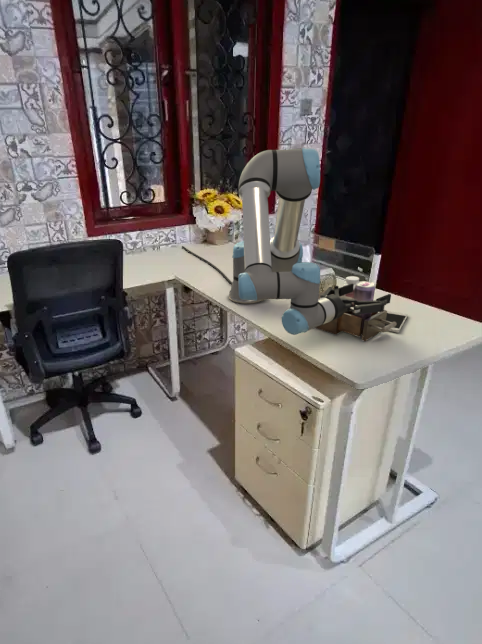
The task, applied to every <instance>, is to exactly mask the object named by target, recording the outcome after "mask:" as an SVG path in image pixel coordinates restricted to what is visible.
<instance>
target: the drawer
mask: <svg viewBox="0 0 482 644" xmlns="http://www.w3.org/2000/svg"><path fill="white" fill-rule="evenodd" d="M352 307H353V306H352ZM387 311H388V310H386V309H384V311H383V312H374V313H371V317H370V318H368V319H366V320H364V328H363V331H361V329H362V321H363V318H360V317H357V316H354V315H352V311H349V312H345V313H344V314H343V315H342V316H341V317H340V318H339V322H338V330H340V331H342V333H346V334H349V335H352V336H355V337H358V338H361V341H363V342H366V341H369V340H370V339H371V338H373V337H375V336H377V335H378V334H380V333H386V332H387V330H389V329H391V328H392V327H394V326H396V325H397V323H396V322H389V321H386V316H387ZM385 323H388V324H389V325H387V326H385Z"/></svg>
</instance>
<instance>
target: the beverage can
mask: <svg viewBox="0 0 482 644" xmlns="http://www.w3.org/2000/svg"><path fill="white" fill-rule="evenodd" d="M375 290H376V284H375V282H371V281H368V280H367V281H365V280H361V281H360V280H359V282H357V283H356V286H355V290H354V298H353V299H356V300H357V301H374V298H375ZM353 304H354V302H353ZM352 315H353V312H352ZM354 316H357V317H360V318H363V321H362V329H361V331H363V328H364V320H366V319H368V318H370V317H371V313H365V314H359V315H354Z"/></svg>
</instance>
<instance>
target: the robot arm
mask: <svg viewBox="0 0 482 644" xmlns="http://www.w3.org/2000/svg"><path fill="white" fill-rule="evenodd" d="M320 184H321V163H320V156H319V152H318V150H317V149H315V148H311V147H310V148H309V147H307V148H305V147H302V148H291V149H290V148H289V149H288V148H287V149H267V150H263V151H260V152H259V153H257V154H256V155H254V156H253V157H251V158H250V160H249V161H248V162H247V163H246V165H245V167H244V168H243V169H242V172H241V174H240V177H239V180H238V188H237V189H238V197H239V199H240V200H241V202H242V203H241V204H242V207H241V208H242V232H243V240H241V241H238V242H237V243H235V244H234V245H233V247H232V257H231V258H232V281H231V280H230V279H229V277H228V276H227V275H226V274H225V273H224V272H223V271H221V269H220V268H218V267H217V266H216V265H215V264H213V263H212V262H210V261H208V260H207V259H205V258H203V257H201V256H200V255H198V254H197V253H195V252H193V251H191V250H189V249H188V248H186V247H185V246H183V245H181V248H182V249H184V250H185V251H187V252H189V253H190V254H192V255H193V256H195V257H196V258H198V259H200V260H202V261H203V262H205V263H207V264H208V265H209V266H211V267H212V268H213V269H215V270H216V271H217V272H219V274H220V275H222V277H223V278H224V280H226V281H227V282H228V283H229V284H230V285H231V286H230V290H229V293H228V299H229V300H230V301H231V302H233V303H235V304H236V303H237V304H240V305H251V304H258V303H261V302H263V301H266V300H290V304H289V305H290V307H289V308H288V309H286V310H285V311H284V312H283V313H282V315H281V325H282V328H283V329H284V331H285V332H287V333H288V334H290V335H293V336H297V335H299V334H303V333H307V332H309V331H310V330H313V329H316V328H315V327H317V326H320V325H322V324H325V323H328V322H330V321H333V320H335V319H338V318H340V317H341V316H342V315H343V314H344V313H345V312H349V311H352V312H353V315H359V314H365V313H374V312H378V313H379V312H383V311H384V310H385V306H387V305H388V304H391V298H392V294H391V293H387V294H385V295H383V296H380V297H378V298H375V300H374V299H373V301H357V300H356V299H345V298H339V296H343V295H345V294H348V293H351V292H353V286H354V284H349V285H346V286H343V285H342V286H340V287H339V285H334V288H333V287H332V286H329V287H328V288H327V289H326V290H325V291H326V292H325V293H324V294H323V295H321V296H320V298H319V299H318V297H319V293H320V286H321V268H320V265H318V263H317V264H316V263H315V262H311V261H303V258H304V257H303V256H304V247H303V244H302V243H301V242H300V240H299V239H298V238H299V232H300V228H301V223H302V218H303V212H304V207H305V203H306V200H308V199H309V197H311V195H312V191H314V190H317V189H319V188H320ZM271 192H275V194H276V195H277V197H278V202H277V211H276V217H275V218H276V219H275V224H274V225H275V227H274V233H273V234H274V235H273V236H272V237H271V234H270V215H269V199H268V198H269V197H270V195H271ZM332 294H334V295H332ZM352 302H354V304H353V307H352Z"/></svg>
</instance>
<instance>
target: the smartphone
mask: <svg viewBox="0 0 482 644" xmlns="http://www.w3.org/2000/svg"><path fill="white" fill-rule="evenodd" d="M386 311H387V316H386V321H389V322H396V323H397V325H396V326H394V327H392V328H391V329H389V330H387V331H388V332H393V333H400V331H401V329H402V327H403V325H404V324H405V321H406V320H407V318H408V314H409V313H402V312H396V311H391V310H386ZM387 325H389V324H388V323H385V326H387ZM387 331H386V332H387Z"/></svg>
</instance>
